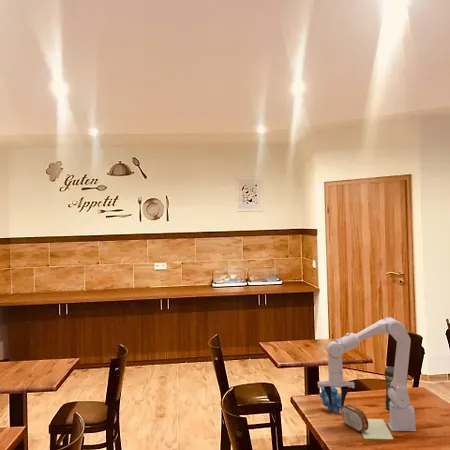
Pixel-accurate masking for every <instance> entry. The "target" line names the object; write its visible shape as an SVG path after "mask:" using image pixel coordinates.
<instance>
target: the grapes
mask: <svg viewBox="0 0 450 450" xmlns="http://www.w3.org/2000/svg"><path fill="white" fill-rule="evenodd" d="M330 388H331V400H332V406H330V403H329V398H328V395H327V393H326V391H325V388H324V387H321V388H320V390H321V392H320V393H319V397H320V399H321V400H322V405H323V406H324V407H327V410H328V411H329V412H330V413H333V412H335V413H336V414H338V413H340V411H341V408H342V407H343V406H342V405H341V393H340V394H339V390H338V389H337V387H330Z"/></svg>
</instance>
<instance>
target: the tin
mask: <svg viewBox="0 0 450 450" xmlns="http://www.w3.org/2000/svg"><path fill="white" fill-rule="evenodd" d="M340 411H341V418H342V420H343V422H344V424H345V425H346V426H348V427H350V428H351V429H353V430H355V431H356V432H359V433H361V432H363V431H366V430H367V429H368V420H367V419H368V417H367V415H366V414H365V412H364V411H363V410H362V409H360V408H358V407H355V406H354V405H352V404H350V403H348V404H347V403H346V404H344V406H343V407H342V408H341V409H340Z"/></svg>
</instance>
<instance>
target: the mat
mask: <svg viewBox="0 0 450 450" xmlns="http://www.w3.org/2000/svg"><path fill="white" fill-rule="evenodd" d="M367 420H368V429H367V430H366V431H363V432H360V433H361V435H362V437H363V440H390V441H391V440H394V437H393V436H392V434H391V430H390V429H389V427H388V425H387V424H386V423H385V420H384V418H381V419H380V418H367ZM394 441H395V440H394Z"/></svg>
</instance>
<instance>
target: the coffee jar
mask: <svg viewBox="0 0 450 450" xmlns="http://www.w3.org/2000/svg"><path fill="white" fill-rule="evenodd" d="M393 376H394V366H387V367H385V369H384V379H385V386H386V388H385V389H386V390H385V394H386V395H385V409H387V410H389V411H390V407H389V403H390V398H389V397H388V394H387V392H388V389H389V388H390V385H391V382H392V380H393ZM408 379H409V376H408V373H407V380H408Z"/></svg>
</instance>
